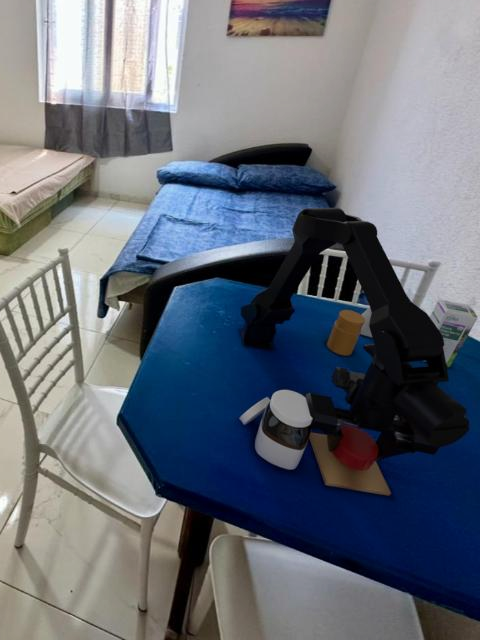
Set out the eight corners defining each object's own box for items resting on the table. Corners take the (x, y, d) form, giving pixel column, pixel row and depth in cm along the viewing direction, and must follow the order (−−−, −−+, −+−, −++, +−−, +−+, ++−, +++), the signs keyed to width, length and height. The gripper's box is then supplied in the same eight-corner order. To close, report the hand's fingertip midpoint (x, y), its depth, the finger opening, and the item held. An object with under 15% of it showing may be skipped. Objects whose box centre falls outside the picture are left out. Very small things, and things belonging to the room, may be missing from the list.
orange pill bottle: (331, 353, 97) (343, 322, 93) (323, 338, 102) (335, 308, 97) (356, 357, 96) (370, 325, 92) (347, 341, 101) (360, 310, 97)
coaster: (325, 485, 68) (326, 482, 68) (307, 434, 77) (309, 431, 76) (389, 496, 67) (391, 493, 66) (364, 443, 75) (366, 440, 75)
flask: (389, 341, 102) (404, 308, 97) (357, 336, 103) (371, 304, 98) (377, 323, 108) (391, 292, 103) (348, 319, 109) (360, 288, 105)
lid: (373, 450, 71) (379, 437, 70) (370, 478, 67) (377, 465, 65) (332, 431, 74) (338, 419, 73) (327, 457, 70) (333, 444, 68)
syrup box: (420, 361, 96) (447, 311, 89) (413, 345, 101) (439, 297, 94) (449, 368, 94) (479, 317, 87) (441, 352, 99) (469, 303, 92)
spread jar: (294, 483, 68) (314, 437, 63) (227, 450, 73) (240, 405, 68) (304, 432, 77) (322, 388, 72) (244, 406, 82) (257, 363, 77)
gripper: (427, 366, 68) (392, 428, 76) (308, 345, 72) (286, 406, 79) (462, 419, 59) (418, 484, 66) (322, 391, 62) (296, 456, 70)
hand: (350, 454), depth 71 cm, fingers closed on lid, 6 cm apart
